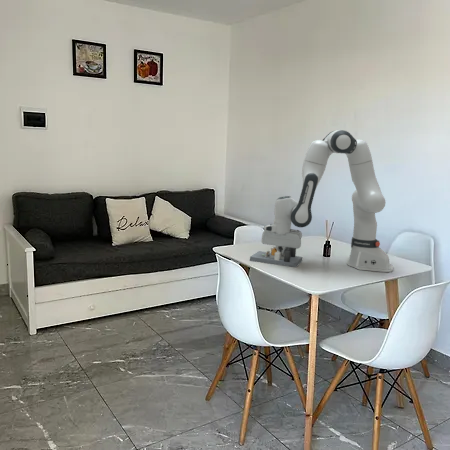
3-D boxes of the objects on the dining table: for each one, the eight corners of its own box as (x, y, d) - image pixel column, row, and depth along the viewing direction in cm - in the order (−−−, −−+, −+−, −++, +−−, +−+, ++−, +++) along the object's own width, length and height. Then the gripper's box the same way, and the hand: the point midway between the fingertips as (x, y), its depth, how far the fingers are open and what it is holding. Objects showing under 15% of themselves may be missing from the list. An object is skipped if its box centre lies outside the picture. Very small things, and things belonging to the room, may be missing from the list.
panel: (302, 260, 238) (303, 247, 237) (295, 267, 226) (296, 253, 224) (258, 254, 247) (259, 241, 246) (249, 260, 235) (250, 247, 233)
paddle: (278, 255, 238) (278, 247, 237) (275, 257, 234) (276, 249, 233) (273, 254, 239) (274, 246, 238) (271, 256, 235) (271, 248, 234)
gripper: (303, 229, 231) (301, 255, 234) (265, 224, 239) (263, 250, 242) (300, 231, 226) (298, 258, 228) (261, 226, 233) (259, 253, 236)
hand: (280, 254), depth 235 cm, fingers closed
